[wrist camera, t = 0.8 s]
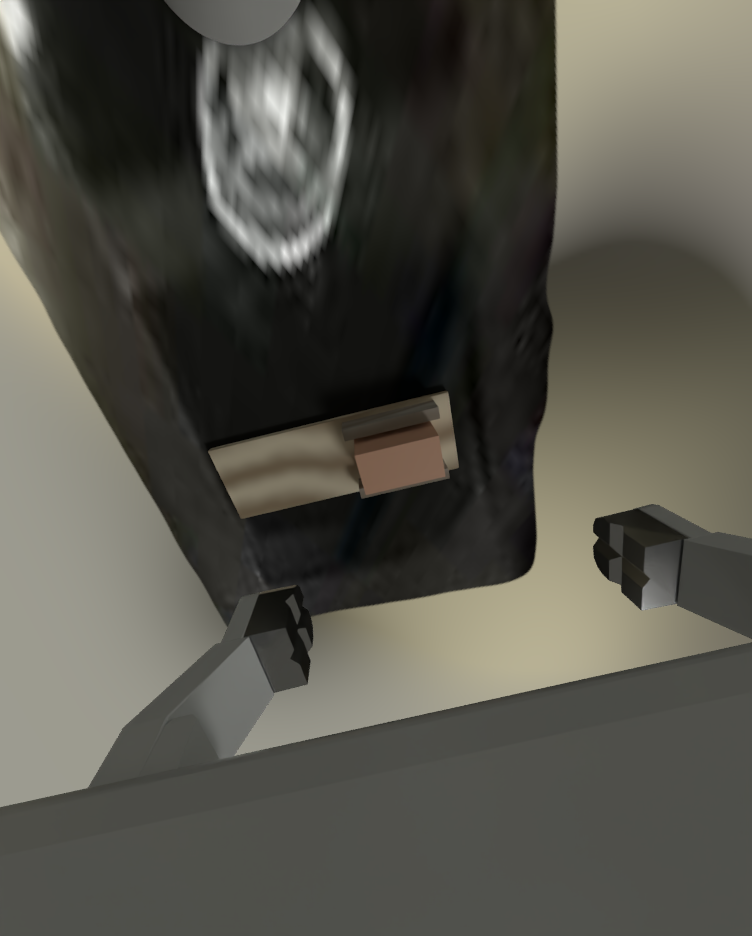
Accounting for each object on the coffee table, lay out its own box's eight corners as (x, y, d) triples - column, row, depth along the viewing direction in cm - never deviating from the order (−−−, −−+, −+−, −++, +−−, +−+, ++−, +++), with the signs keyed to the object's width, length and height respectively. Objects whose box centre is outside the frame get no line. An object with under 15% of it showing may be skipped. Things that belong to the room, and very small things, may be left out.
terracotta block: (354, 436, 47) (354, 455, 41) (428, 418, 46) (438, 435, 41) (364, 472, 49) (365, 495, 44) (435, 456, 49) (445, 476, 43)
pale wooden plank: (210, 448, 47) (199, 461, 44) (446, 390, 46) (454, 398, 42) (243, 514, 52) (235, 531, 49) (456, 464, 51) (464, 477, 47)
